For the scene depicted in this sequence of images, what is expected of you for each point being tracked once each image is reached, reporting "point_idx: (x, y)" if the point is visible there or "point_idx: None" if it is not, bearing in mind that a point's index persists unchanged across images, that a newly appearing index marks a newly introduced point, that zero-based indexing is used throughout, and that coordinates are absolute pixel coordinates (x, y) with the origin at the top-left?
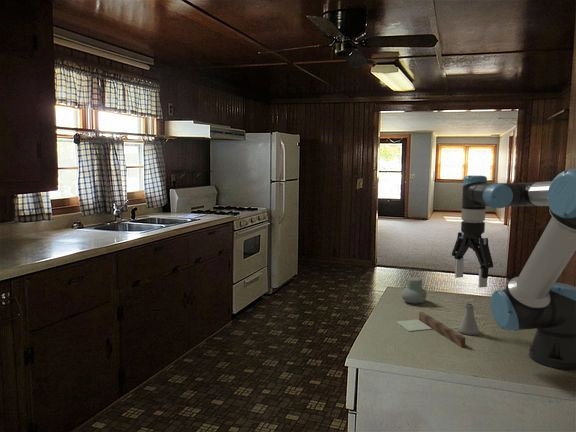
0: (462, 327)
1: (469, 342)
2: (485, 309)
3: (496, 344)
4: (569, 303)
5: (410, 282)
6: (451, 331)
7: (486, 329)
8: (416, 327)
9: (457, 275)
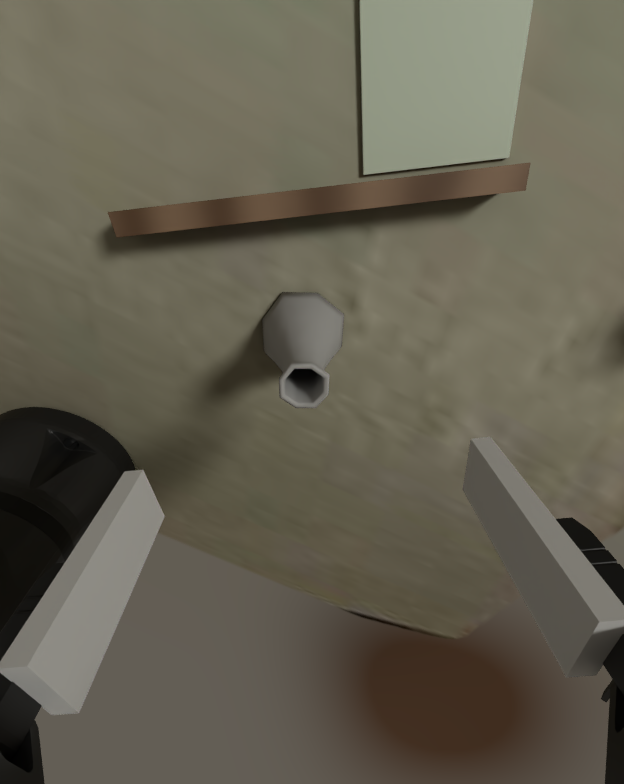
0: (289, 306)
1: (187, 278)
2: None
3: (169, 367)
4: None
5: None
6: (202, 207)
7: None
8: (397, 79)
9: (478, 461)
